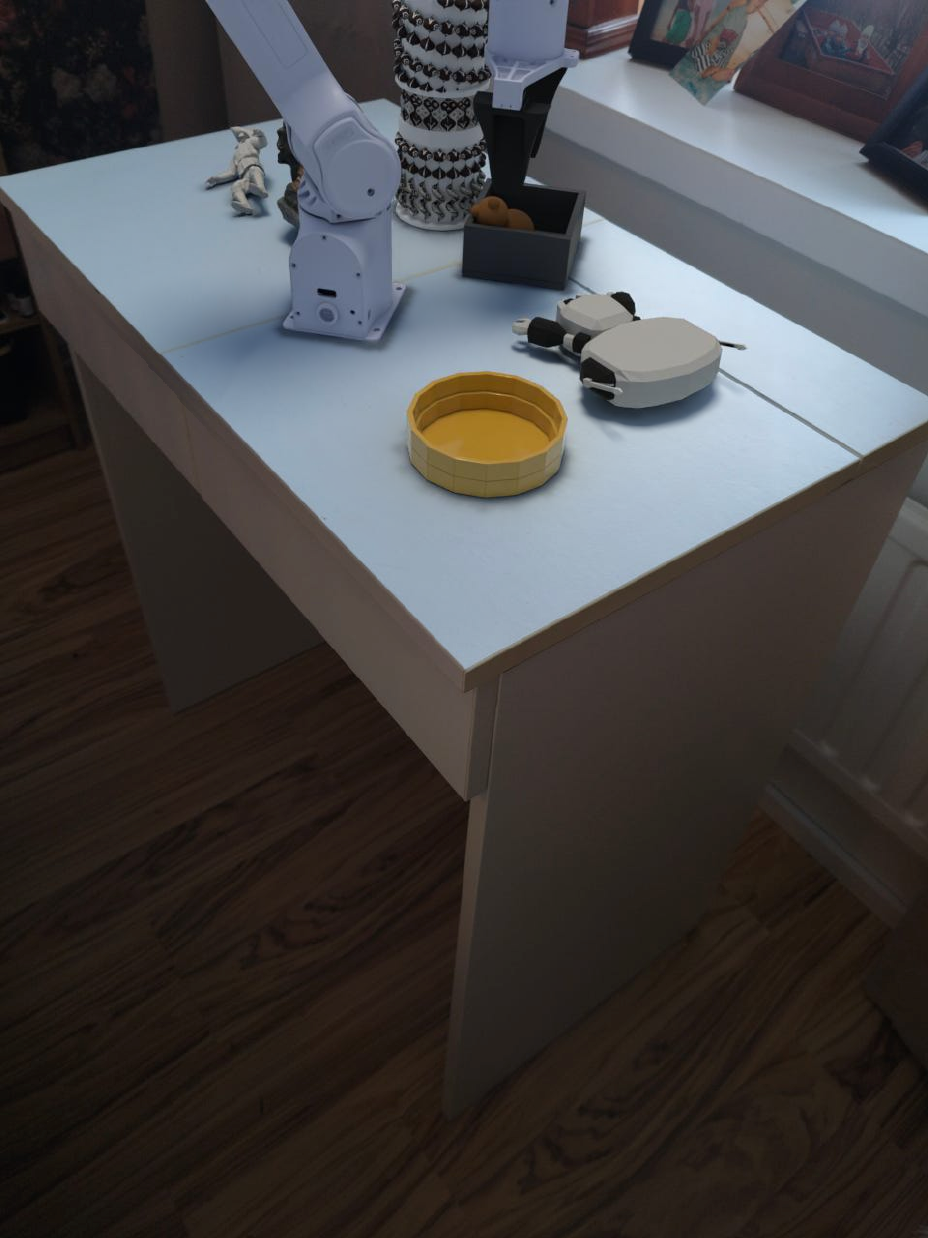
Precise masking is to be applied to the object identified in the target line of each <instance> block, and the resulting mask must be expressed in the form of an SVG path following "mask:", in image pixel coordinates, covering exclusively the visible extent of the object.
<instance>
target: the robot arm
mask: <svg viewBox="0 0 928 1238" xmlns="http://www.w3.org/2000/svg"><path fill="white" fill-rule="evenodd" d="M204 1H205V2H206V4H207V5H208V7H209V8H210V10H211V11H212V13H213V14H214V16H215V17H216V19H217V20H218V22H219V23H220V25H221V26H222V28H223V29H224V30H225V32H226V33H227V35H228V37H229V38H230V40H231V41H232V43H233V44H234V45H235V47H236V48H237V50H238V52H239V53H240V55H241V56H242V57H243V59H244V60H245V62H246V63H247V65H248V66H249V68H250V70H251V71H252V73H253V74H254V76H255V77H256V79H257V80H258V82H259V83H260V85H261V86H262V88H263V89H264V91H265V92H266V94H267V95H268V96H269V98H270V100H271V101H272V103H273V105H274V106H275V107H276V109H277V110H278V112H279V113H280V115H281V117H282V120H283V121H284V122H285V125H286V130H287V137H288V143H289V146H290V149H291V151H292V153H293V155H294V156H295V158H296V159H297V161H298V162H299V163H300V164H301V165H303V167H304V174H303V175H302V178H301V181H300V184H299V189H298V190H297V196H298V210H299V222H300V228H299V230H298V234H297V236H296V239H295V240H294V242H293V244H292V246H291V249H290V251H289V255H288V271H289V282H290V284H289V285H290V294H291V295H290V296H291V305H292V309H291V311H290V312H289V314H288V315H287V317H286V318H285V320H284V321H283V322H282V327H283V329H286V330H291V331H296V332H297V331H298V332H305V333H310V334H311V333H312V334H316V335H323V336H330V337H336V338H337V337H338V338H343V339H349V340H350V339H351V340H357V341H362V342H370V343H377V342H379V341H380V340H381V337H382V336H383V334H384V333H385V330H386V329H387V327H388V325H389V323H390V321H391V319H392V317H393V315H394V313H395V311H396V310H397V308H398V306H399V304H400V302H401V300H402V298H403V296H404V294H405V293H406V292H407V285H406V284H405V283H403V282H395V281H393V232H392V231H393V228H392V227H393V226H392V225H393V223H392V222H393V221H392V214H393V213H392V200H393V199H394V198H395V194H396V192H397V190H398V188H399V184H400V181H401V163H400V158H399V155H398V153H397V149H396V147H395V145H394V144H393V143H392V142H391V141H390V139H388V137H386V136H385V135H383V134H382V133H381V132H380V131H379V130H378V129H377V127H375V125H374V124H373V122H371V120H370V119H369V118H368V117H367V116H366V115H365V113H364V111H363V109H362V108H361V106H360V105H359V103H358V102H357V101H356V100H355V98H354V97H353V96H351V95H350V94H348V93H347V92H345V91H344V89H343V88H342V87H341V85H340V84H339V82H338V80H337V79H336V78H335V77H334V75H333V73H332V72H331V70H330V69H329V67H328V65H327V63H326V62H325V61H324V59H323V57H322V55H321V54H320V52H319V51H318V49H317V47H316V46H315V44H314V42H313V40H312V39H311V37H310V36H309V34H308V32H307V31H306V28H304V25H303V24H302V23H301V21H300V19H299V18H298V16H297V14H296V13H295V11H294V8H292V6H291V4H290V3H289V1H288V0H204ZM569 2H570V0H490V5H489V10H488V18H489V24H488V36H487V38H488V43H487V44H486V45H485V49H484V58H485V64H486V65H487V66H488V67H489V70H490V72H491V74H492V76H491V77H492V78H493V90H492V92H491V91H486V90H485V91H477V93H476V94H475V96H474V98H473V110H474V114H475V116H476V118H477V120H478V122H479V124H480V127H481V129H482V132H483V135H484V139H485V142H486V147H487V148H486V151H487V158H488V166H489V172H490V173H489V174H490V178H491V180H492V185H493V189H494V192H495V193H501V194H509V195H516V196H518V195H520V192H521V190H522V187H523V185H524V183H525V181H526V179H527V178H526V177H527V174H528V173H527V172H528V171H529V170H528V169H529V164H530V160H531V159H536V157H537V155H538V152H539V150H540V147H541V143H542V141H543V136H544V132H545V128H546V124H547V121H548V116H549V114H550V111H551V108H552V102H553V100H554V97H555V94H556V92H557V90H558V87H559V85H560V84H561V82H562V81H563V78H564V77H565V75H566V74H567V71H568V69H572V68H574V69H575V68H576V67H577V66H578V64H579V61H580V51H579V50H578V49H570V48H567V47H565V43H566V42H565V41H566V34H567V33H566V31H567V24H568V23H567V22H568V11H569Z"/></svg>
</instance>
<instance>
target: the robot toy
mask: <svg viewBox="0 0 928 1238" xmlns="http://www.w3.org/2000/svg"><path fill="white" fill-rule="evenodd" d="M636 312H637V310H636V302H635V301H634V299H633V297H632V296H631V294H630V293H629V292H625V291H623V290H622V291H616V292H613V291H607V292H606V294H599V293H592V294H587V293H586V294H585V293H584V294H575V298H572V297H570V298H569V297H568V298H567V299H564V300H563V299H560V300H558V302H557V303H556V311H555V320H552V319H548V318H544V317H541V316H535V317H534V318H531V319H529V318H524V317H523V318H519V319H517V320H516V321H515V322H513V323H512V324H511V331H512V333H514V334H516V335H517V336H526V337H527V343H528V344H531V345H535V346H538V347H542V348H545V349H548V348H549V349H550V348H555V347H558V346H562V347H563V348H564V349H565V350H566V351H568V352H570V353H571V354H574V355H575V356H576V357H578V358H579V357H580V367H579V378H578V379H579V382H581V384H582V386H583V387H584V388H586V389H588V390H589V391H591V392H592V393H594V394H596V396H597V397H600V398H601V399H602V400H604V401H607V402H609V403H610V404H612V405H613V406H615V407H619V408H622V409H624V408H629V409H643V408H650V407H657V406H661V405H666V404H669V403H674V402H678V401H681V400H683V399H685V398H687V397H689V396H691V395H693V394H695V393H697V392H698V391H700V390H702V389H704V388H705V387H708V385H710V384H711V383H713V382H714V381H715V380H716V379H717V376H718V374H719V370H720V365H721V360H722V355H723V347H725V348H731V349H732V348H733V349H736V350H738V351H746V350H747V349H748V347H747V345H746V344H745V343H735V342H729V341H724V340H719V339H718V338H717V336H716V335H713V334H712V333H711V332H708V331H707V330H705V329H703V328H702V327H700V326H698V325H696V324H694V323H693V322H690V321H689V320H687V319H685V318H679V317H671V316H670V317H669V316H659V317H658V316H657V317H651V318H644V319H642V318H641V317H640V316H638V315H636Z"/></svg>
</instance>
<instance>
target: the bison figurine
mask: <svg viewBox="0 0 928 1238" xmlns="http://www.w3.org/2000/svg"><path fill="white" fill-rule="evenodd" d="M276 134H277V137H278V138H277V141H276V143H275V144H276V148H277V150H278V154H277V163H278V164H279V165H287V166H288V167H289V174H290V179H291V181H290V182H288V183H287V184H286V186H285V189H284V193H283V196H281V197H280V198H279V199H277V200H276V205H277V207H278V209H279V211H280V212H281V214H282V218H283V220H285V222H287V223H288V224H290V225H292V226H293V227H295V229H297V230H298V231H299V228H300V222H299V210H298V196H297V190H298V189H299V184H300V181H301V178H302V175H303V174H304V167H303V165H301V164H300V163H299V162H298V161H297V159H296V158H295V156H294V155H293V153H292V151H291V149H290V146H289V143H288V137H287V130H286V125H285V122H284V120H283V121H282V126H281V127H279V128H278V129H277V130H276Z"/></svg>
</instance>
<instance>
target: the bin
mask: <svg viewBox="0 0 928 1238" xmlns="http://www.w3.org/2000/svg"><path fill="white" fill-rule="evenodd" d="M491 196H493V197H498V198H500V199H501V200H503V201H504V202H505V204H506V206H507V208H508V209H517V210H520V211H522V212H524V213H526V214H527V215H528V216H529V218H530V219H531V221H532V223H533V226H534V232H532V231H525V230H517V229H510V228H503V227H495V226H488V225H481V224H478V222H477V219H476V217H473V216H472V215H471V212H470V214H469V216H468V218H467V220H466V222H465V224H464V228H463V237H462V239H463V240H462V259H461V260H462V262H461V276H462V277H468V278H475V279H476V278H477V279H482V280H490V281H497V282H505V283H511V284H518V285H526V286H532V287H539V288H546V289H552V290H561V291H565V290H566V287H567V284H568V281H569V277H570V274H571V271H572V268H573V264H574V261H575V257H576V254H577V251H578V249H579V248H578V247H579V244H580V241H581V236H582V228H583V221H584V211H585V203H586V197H587V191H586V190H582V189H575V188H566V187H561V186H554V185H553V186H552V185H546V184H545V185H544V184H538V183H529V182H524V185H523V187H522V190H521V192H520V195H518V196H516V195H509V194H501V193H495V192H494V189H493V185H492V180H491V177H487V178H486V179H485V184H484V186H483V187H482V190H481V192H480V194H479V196H478V198H477V200H476V202H475V204H474V205H479V203H480V202H481V201H482V200H483V199H485V198H487V197H491Z"/></svg>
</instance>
